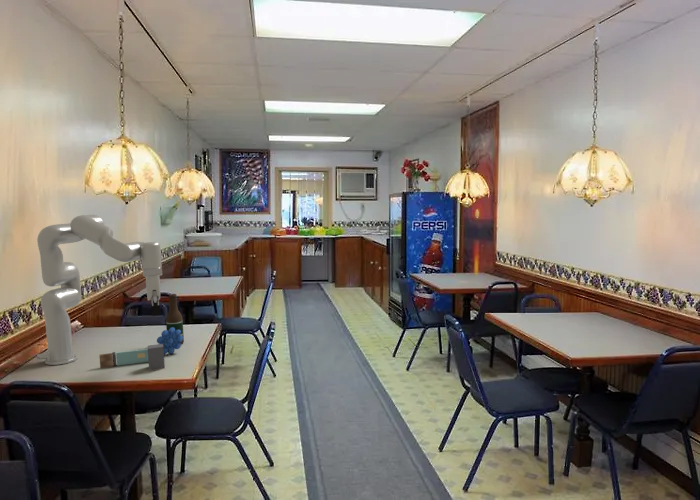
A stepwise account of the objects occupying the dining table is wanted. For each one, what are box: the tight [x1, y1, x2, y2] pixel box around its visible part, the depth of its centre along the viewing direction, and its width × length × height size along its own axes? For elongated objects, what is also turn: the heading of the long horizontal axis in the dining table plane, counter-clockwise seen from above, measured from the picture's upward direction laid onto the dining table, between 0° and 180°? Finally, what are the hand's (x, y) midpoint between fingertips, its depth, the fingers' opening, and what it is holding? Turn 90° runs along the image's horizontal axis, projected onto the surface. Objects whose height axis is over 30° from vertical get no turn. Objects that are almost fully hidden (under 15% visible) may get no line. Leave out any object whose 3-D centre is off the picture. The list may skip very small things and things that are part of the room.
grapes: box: [156, 327, 183, 355], centre depth 242 cm, size 12×7×12 cm, turn 116°
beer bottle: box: [165, 293, 185, 345], centre depth 257 cm, size 8×8×24 cm
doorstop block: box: [147, 343, 166, 371], centre depth 223 cm, size 6×5×9 cm
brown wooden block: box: [99, 351, 117, 369], centre depth 229 cm, size 25×1×6 cm, turn 110°
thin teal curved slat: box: [115, 348, 149, 367], centre depth 229 cm, size 13×1×5 cm, turn 110°
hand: (155, 313), depth 225 cm, fingers open, 9 cm apart
